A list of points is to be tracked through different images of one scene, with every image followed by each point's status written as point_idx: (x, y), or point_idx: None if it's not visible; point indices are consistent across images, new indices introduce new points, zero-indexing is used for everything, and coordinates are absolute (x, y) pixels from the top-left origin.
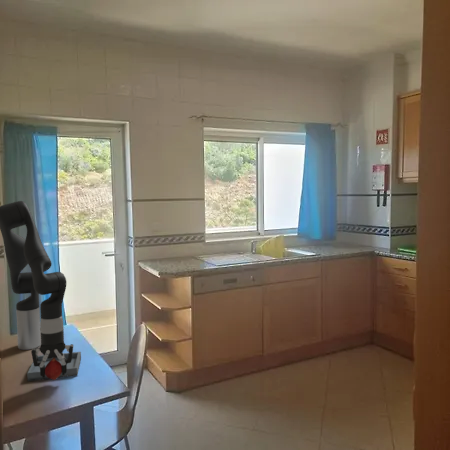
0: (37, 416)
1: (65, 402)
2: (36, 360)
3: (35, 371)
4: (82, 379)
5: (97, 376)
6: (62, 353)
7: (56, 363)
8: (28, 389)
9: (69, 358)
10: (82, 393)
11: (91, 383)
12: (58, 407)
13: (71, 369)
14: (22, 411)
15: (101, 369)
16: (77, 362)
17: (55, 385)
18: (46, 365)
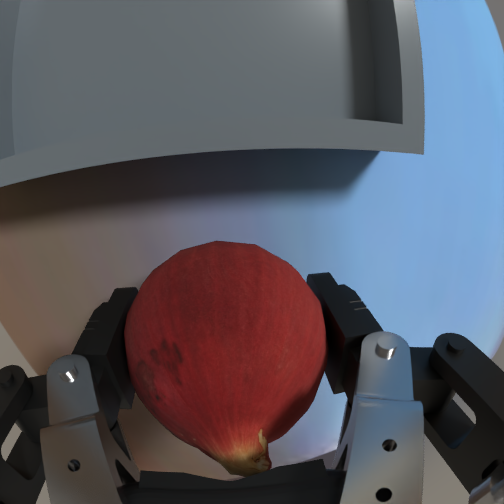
0: (226, 479)
1: (312, 435)
2: (41, 476)
3: (15, 161)
4: (412, 223)
5: (480, 201)
6: (412, 455)
7: (280, 436)
8: (72, 308)
9: (441, 433)
10: None
11: (442, 290)
12: (287, 455)
13: (373, 149)
14: (161, 460)
15: (497, 101)
16: (410, 15)
17: None
18: (143, 402)
